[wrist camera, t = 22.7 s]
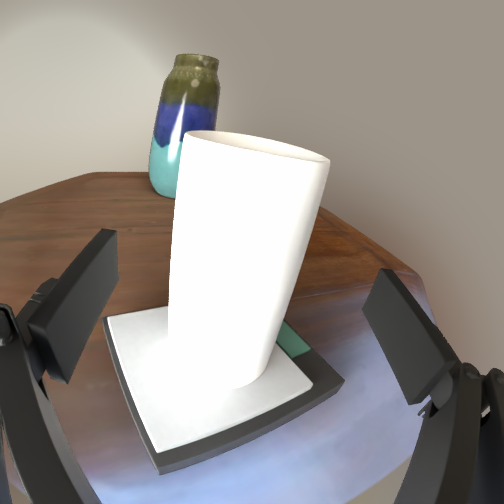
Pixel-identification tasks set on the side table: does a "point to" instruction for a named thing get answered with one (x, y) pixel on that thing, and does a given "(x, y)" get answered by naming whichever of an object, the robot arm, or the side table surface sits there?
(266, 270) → the cup
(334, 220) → the side table surface
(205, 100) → the vase
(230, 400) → the scale
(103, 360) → the side table surface
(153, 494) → the side table surface
